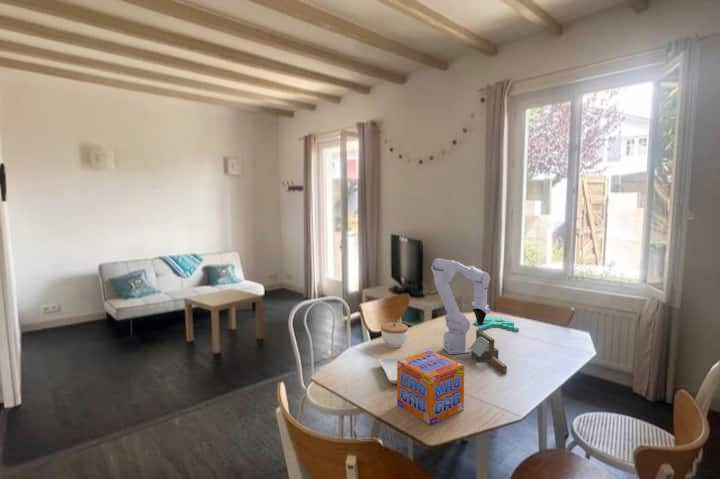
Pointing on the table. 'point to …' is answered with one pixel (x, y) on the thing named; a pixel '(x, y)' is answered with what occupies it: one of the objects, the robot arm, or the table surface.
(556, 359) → the table surface
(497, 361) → the doorway frame
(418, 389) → the game box
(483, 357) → the tall grey block
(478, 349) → the flap
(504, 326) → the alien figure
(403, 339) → the lidded bowl
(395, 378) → the salad plate
